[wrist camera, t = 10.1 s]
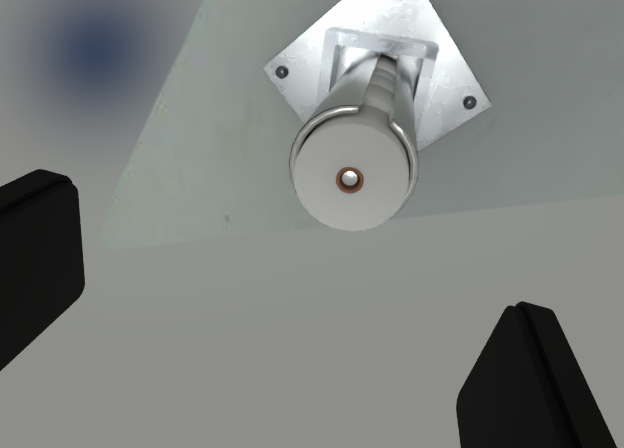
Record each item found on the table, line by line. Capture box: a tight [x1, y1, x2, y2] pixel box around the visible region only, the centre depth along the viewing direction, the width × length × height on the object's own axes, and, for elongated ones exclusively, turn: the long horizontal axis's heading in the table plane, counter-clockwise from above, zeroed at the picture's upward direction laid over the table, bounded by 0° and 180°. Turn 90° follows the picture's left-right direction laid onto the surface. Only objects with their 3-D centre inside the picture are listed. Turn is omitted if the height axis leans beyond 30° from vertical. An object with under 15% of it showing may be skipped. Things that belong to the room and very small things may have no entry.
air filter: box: [289, 50, 419, 231], centre depth 32 cm, size 6×6×25 cm
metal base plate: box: [263, 0, 492, 151], centre depth 41 cm, size 16×16×6 cm
